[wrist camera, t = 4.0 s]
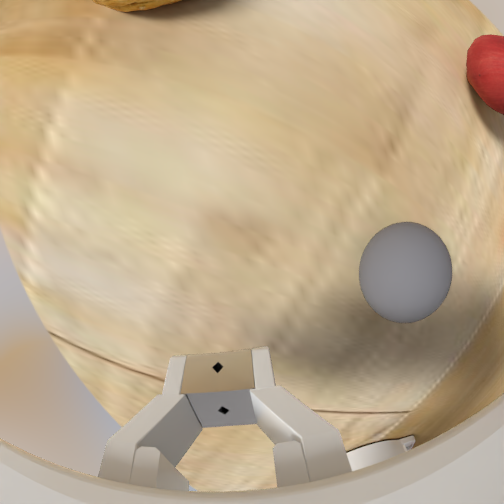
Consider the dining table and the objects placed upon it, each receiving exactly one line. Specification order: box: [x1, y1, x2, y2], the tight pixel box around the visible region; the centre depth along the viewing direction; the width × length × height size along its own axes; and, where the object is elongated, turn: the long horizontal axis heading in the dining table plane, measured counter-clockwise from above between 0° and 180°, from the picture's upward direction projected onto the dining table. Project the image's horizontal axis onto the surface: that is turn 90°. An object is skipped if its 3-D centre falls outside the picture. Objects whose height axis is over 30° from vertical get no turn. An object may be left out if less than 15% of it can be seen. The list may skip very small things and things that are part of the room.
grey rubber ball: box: [359, 222, 452, 323], centre depth 13 cm, size 6×6×6 cm
